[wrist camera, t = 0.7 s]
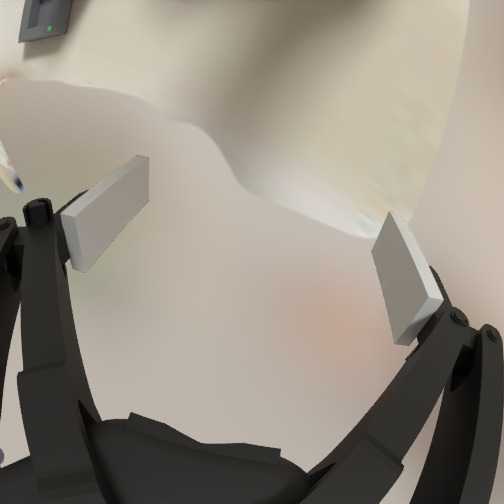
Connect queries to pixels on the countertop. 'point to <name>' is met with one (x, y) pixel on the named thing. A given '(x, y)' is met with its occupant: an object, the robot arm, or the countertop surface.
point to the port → (44, 19)
